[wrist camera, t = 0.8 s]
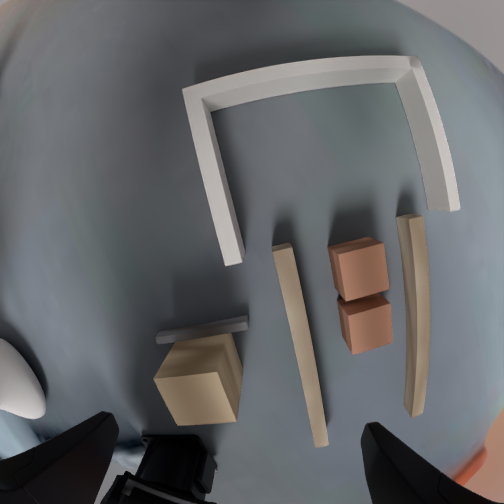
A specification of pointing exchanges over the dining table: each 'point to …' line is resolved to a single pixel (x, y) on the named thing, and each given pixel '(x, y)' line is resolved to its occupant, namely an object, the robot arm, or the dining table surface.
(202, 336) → the scraper
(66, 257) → the dining table surface
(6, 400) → the flower in vase
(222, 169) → the tray
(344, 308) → the brown cube
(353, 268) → the chip
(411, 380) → the channel
